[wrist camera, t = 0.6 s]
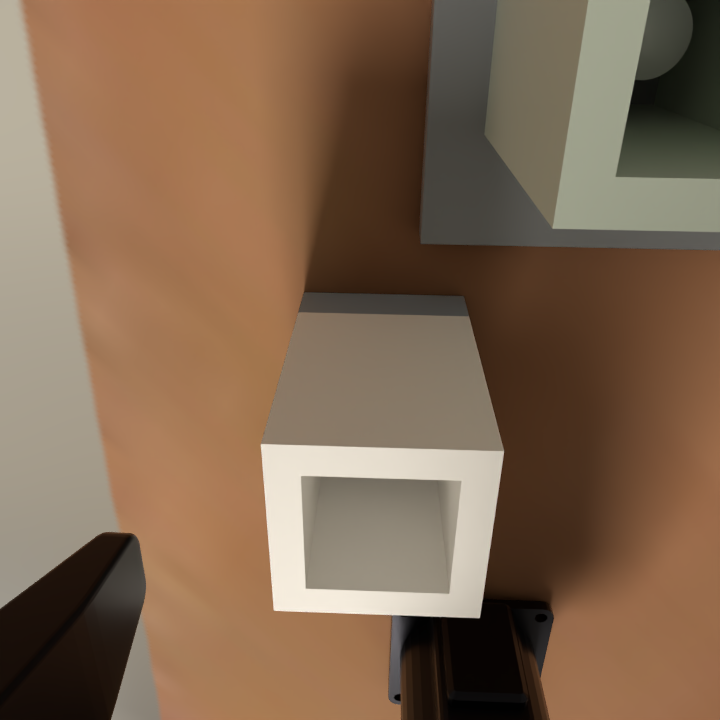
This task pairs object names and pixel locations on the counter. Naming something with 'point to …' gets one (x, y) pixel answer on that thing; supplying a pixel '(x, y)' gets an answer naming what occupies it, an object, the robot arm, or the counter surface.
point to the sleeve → (381, 459)
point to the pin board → (573, 124)
